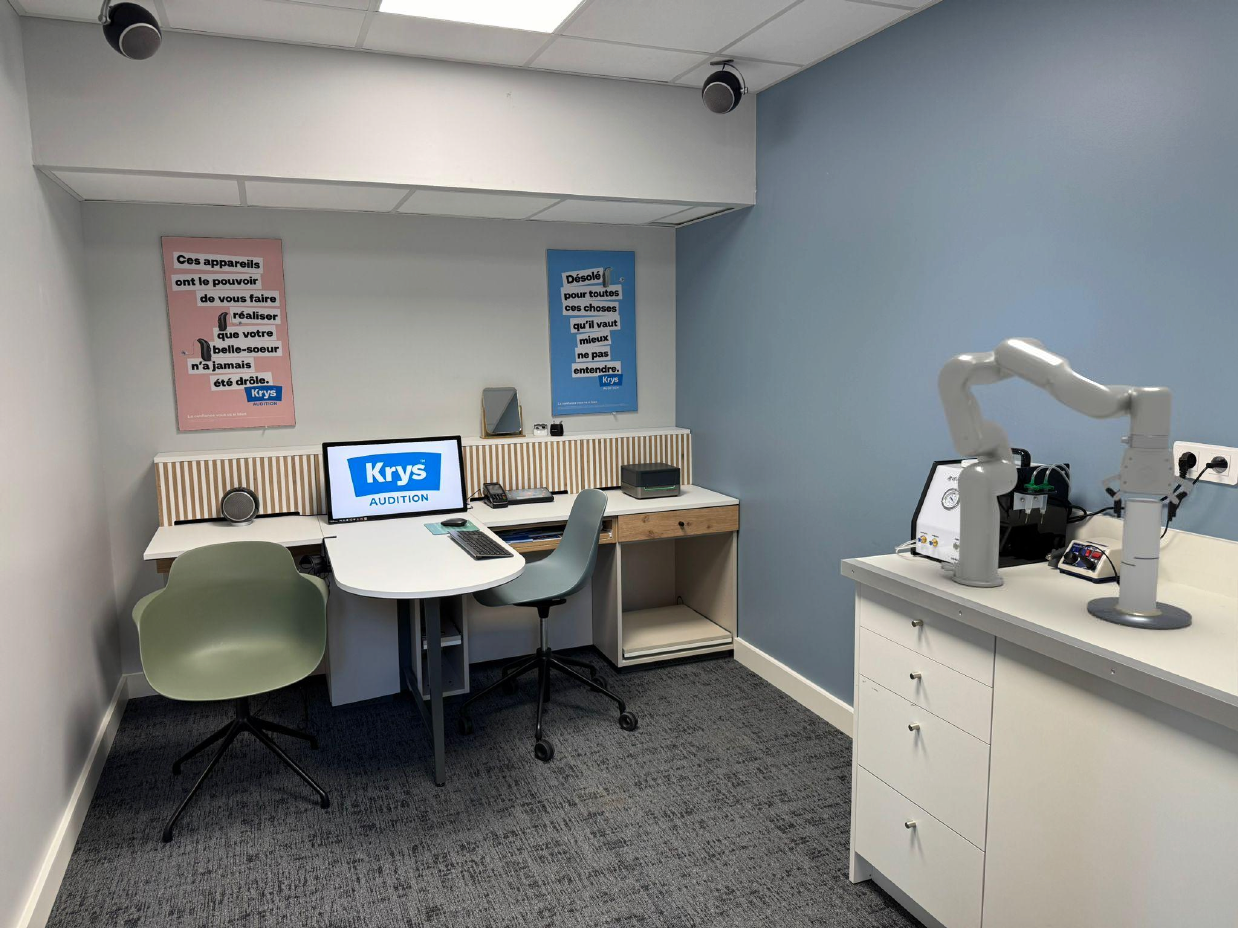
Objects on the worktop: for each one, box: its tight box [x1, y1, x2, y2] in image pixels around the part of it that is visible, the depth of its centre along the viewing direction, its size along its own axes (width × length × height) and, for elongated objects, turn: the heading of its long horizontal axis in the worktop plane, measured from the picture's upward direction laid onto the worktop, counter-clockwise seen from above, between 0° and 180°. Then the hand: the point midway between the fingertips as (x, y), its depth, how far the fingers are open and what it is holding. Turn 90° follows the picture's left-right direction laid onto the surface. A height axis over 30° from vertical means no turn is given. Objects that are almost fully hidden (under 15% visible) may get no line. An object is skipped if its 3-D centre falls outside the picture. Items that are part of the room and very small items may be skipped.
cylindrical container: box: [1118, 497, 1164, 614], centre depth 183 cm, size 7×7×25 cm
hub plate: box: [1086, 596, 1193, 631], centre depth 185 cm, size 20×20×1 cm
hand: (1143, 518), depth 182 cm, fingers open, 9 cm apart
